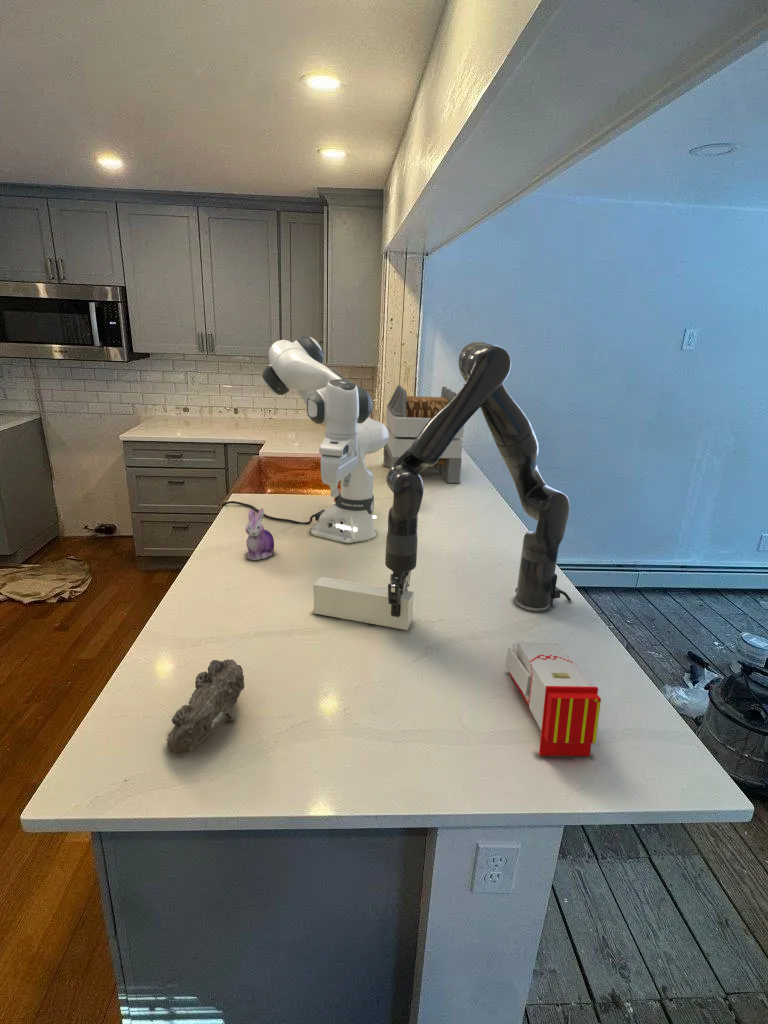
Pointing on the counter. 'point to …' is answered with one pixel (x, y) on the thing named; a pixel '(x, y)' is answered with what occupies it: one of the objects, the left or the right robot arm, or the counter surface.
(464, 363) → the right robot arm
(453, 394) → the transformer
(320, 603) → the bar
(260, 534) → the figurine
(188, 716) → the fossil
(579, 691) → the toy
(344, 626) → the counter surface
